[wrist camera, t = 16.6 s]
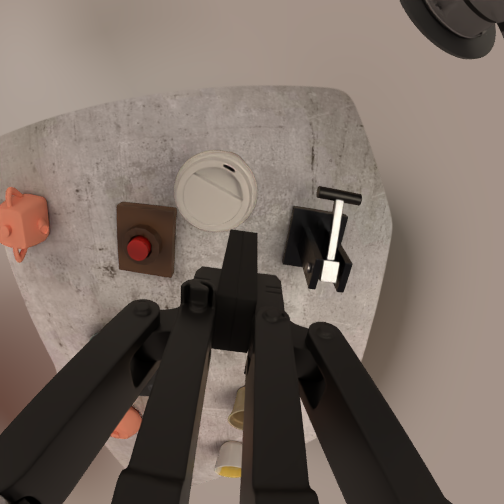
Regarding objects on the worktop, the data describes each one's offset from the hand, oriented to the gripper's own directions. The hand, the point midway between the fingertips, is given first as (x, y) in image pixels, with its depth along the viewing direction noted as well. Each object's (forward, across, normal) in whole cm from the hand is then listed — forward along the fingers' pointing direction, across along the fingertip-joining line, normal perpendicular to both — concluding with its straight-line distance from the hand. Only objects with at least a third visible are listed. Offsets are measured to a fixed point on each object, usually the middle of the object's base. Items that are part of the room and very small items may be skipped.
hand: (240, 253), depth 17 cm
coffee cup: (+31, -4, -1) cm, 31 cm away
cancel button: (+27, -16, -14) cm, 34 cm away
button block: (+30, -16, -14) cm, 37 cm away
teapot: (+31, -42, -12) cm, 53 cm away
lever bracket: (+30, +12, -10) cm, 34 cm away
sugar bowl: (+31, -28, -71) cm, 82 cm away
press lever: (+22, +12, -6) cm, 26 cm away
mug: (+31, +6, -82) cm, 88 cm away
